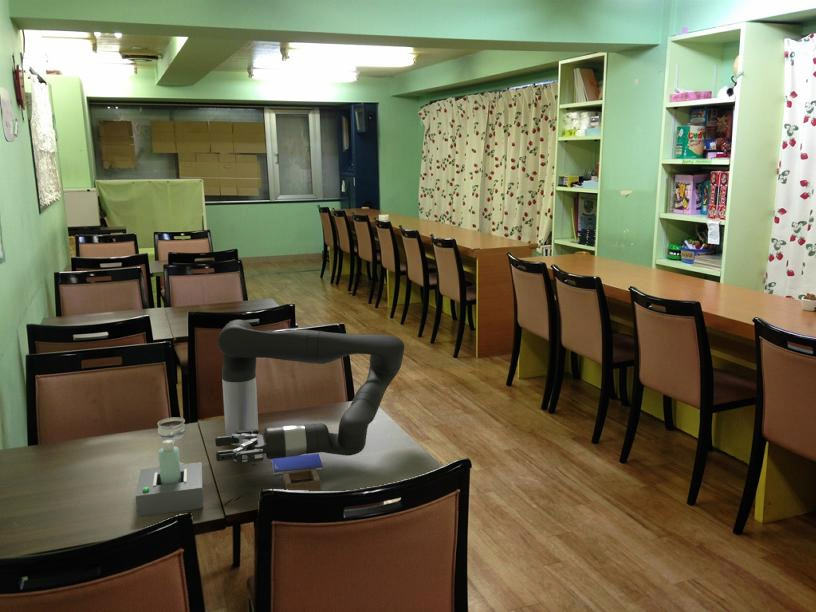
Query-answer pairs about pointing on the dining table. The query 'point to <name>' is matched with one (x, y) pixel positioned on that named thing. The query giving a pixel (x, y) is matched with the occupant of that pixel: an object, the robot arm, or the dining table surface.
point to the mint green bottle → (169, 463)
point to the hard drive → (296, 463)
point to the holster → (300, 475)
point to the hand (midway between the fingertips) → (215, 449)
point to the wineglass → (171, 429)
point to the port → (169, 491)
